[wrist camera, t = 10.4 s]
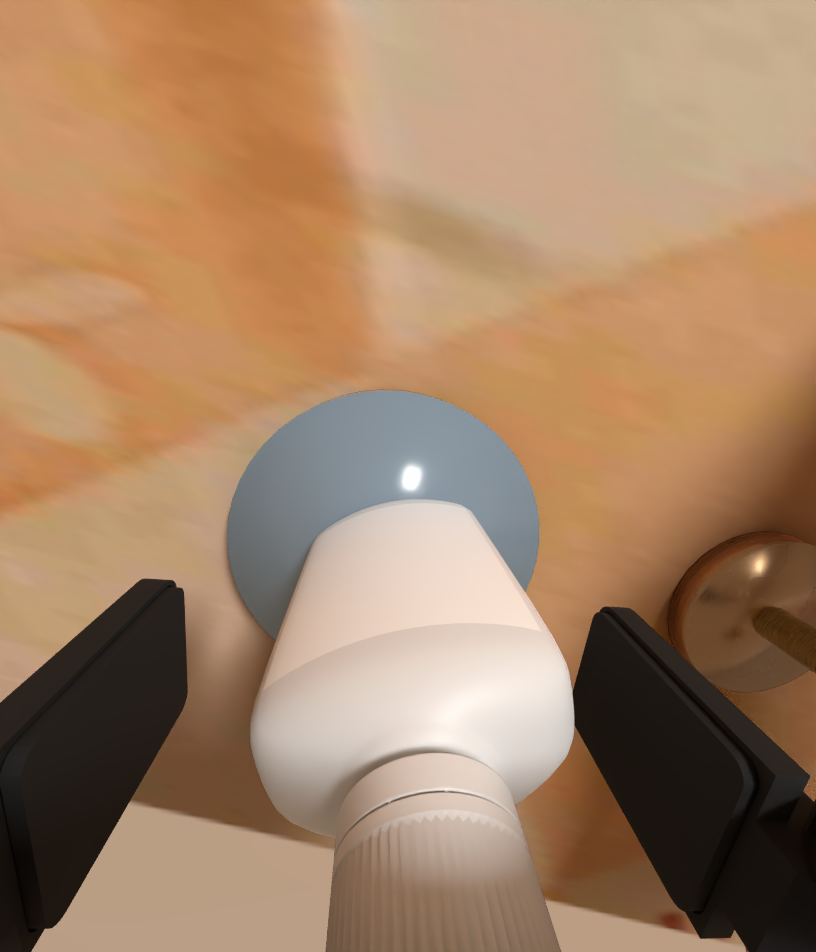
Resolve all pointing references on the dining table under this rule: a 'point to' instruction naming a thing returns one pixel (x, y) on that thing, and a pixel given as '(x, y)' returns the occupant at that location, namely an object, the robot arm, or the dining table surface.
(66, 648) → the robot arm
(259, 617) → the grey flat round piece
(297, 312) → the dining table surface
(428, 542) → the eye dropper bottle
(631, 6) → the dining table surface
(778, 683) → the balance
